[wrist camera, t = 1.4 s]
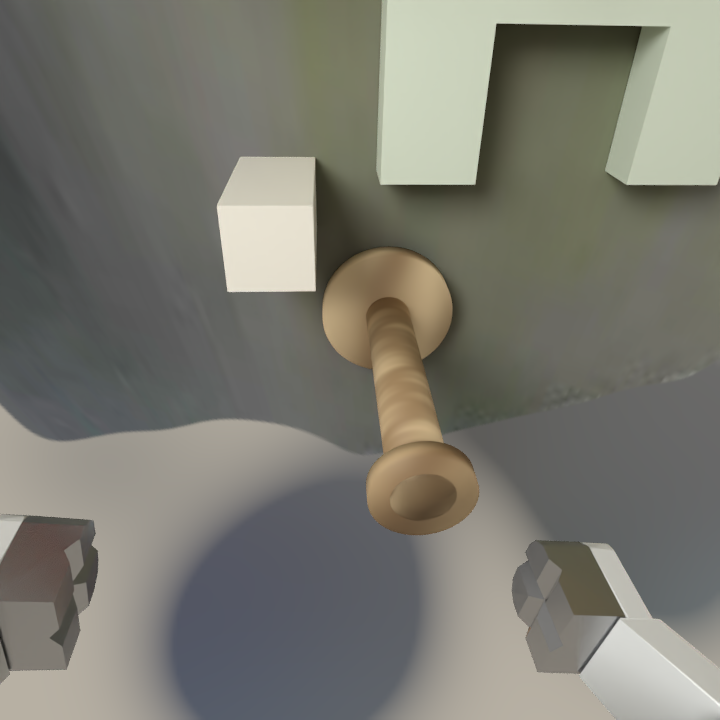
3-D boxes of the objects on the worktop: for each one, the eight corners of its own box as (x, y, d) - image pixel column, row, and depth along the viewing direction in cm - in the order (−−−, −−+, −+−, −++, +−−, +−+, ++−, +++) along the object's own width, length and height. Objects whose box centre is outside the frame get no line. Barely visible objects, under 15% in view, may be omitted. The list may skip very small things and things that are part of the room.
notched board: (777, -90, 28) (820, -97, 26) (689, 171, 36) (716, 185, 33) (385, -102, 27) (391, -111, 25) (376, 170, 35) (380, 184, 32)
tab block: (315, 157, 34) (313, 205, 26) (317, 228, 36) (315, 291, 29) (240, 156, 34) (216, 205, 26) (247, 228, 36) (227, 292, 29)
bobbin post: (455, 246, 38) (542, 417, 23) (442, 357, 43) (506, 558, 28) (321, 246, 37) (320, 422, 22) (323, 359, 42) (323, 565, 27)
